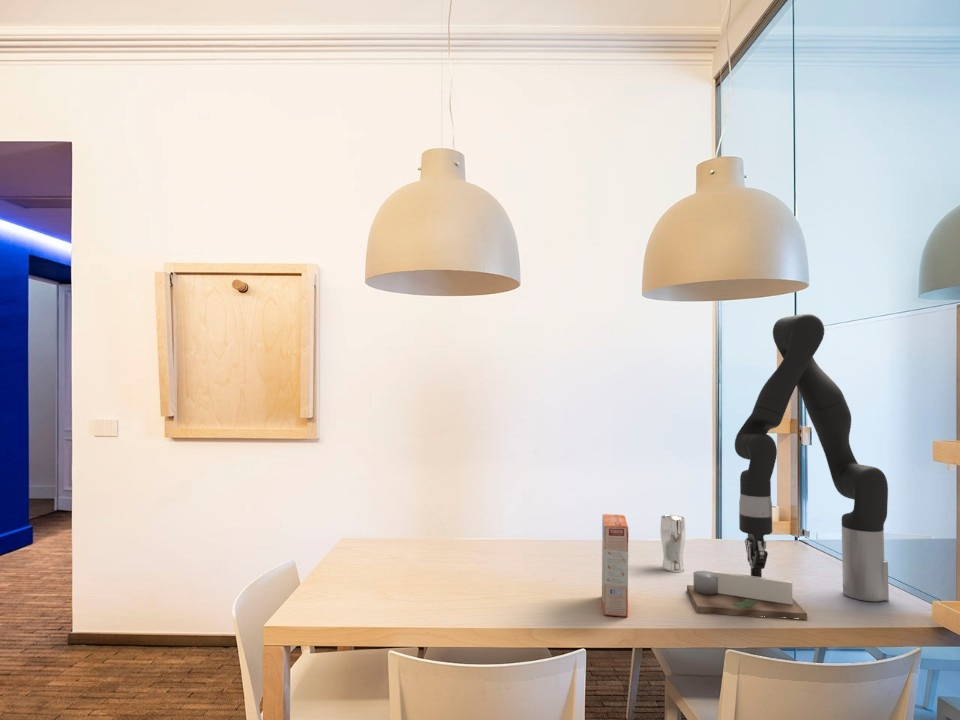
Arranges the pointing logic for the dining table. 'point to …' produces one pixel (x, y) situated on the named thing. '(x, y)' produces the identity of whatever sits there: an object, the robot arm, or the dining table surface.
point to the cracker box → (615, 565)
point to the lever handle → (743, 586)
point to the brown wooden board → (743, 605)
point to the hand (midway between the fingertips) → (756, 583)
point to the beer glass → (673, 542)
